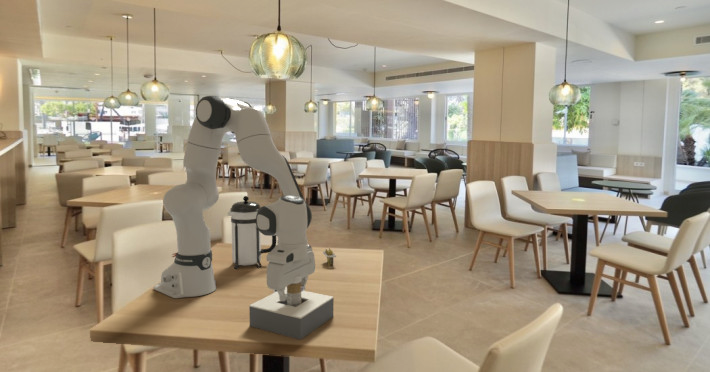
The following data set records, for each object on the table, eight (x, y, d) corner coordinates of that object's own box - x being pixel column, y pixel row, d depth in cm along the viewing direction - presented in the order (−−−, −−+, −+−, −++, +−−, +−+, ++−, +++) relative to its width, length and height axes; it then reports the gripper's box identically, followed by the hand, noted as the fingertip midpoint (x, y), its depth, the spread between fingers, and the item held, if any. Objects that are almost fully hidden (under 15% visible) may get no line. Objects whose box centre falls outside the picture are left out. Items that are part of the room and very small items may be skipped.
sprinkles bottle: (301, 314, 138) (301, 272, 136) (301, 321, 133) (301, 277, 132) (286, 315, 137) (286, 272, 136) (285, 321, 133) (285, 277, 131)
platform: (320, 271, 186) (320, 256, 185) (311, 259, 203) (311, 245, 202) (347, 269, 190) (348, 254, 189) (336, 257, 207) (336, 244, 206)
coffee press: (248, 273, 181) (247, 199, 178) (221, 266, 190) (219, 196, 186) (277, 262, 196) (276, 195, 192) (250, 257, 204) (249, 192, 201)
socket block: (249, 326, 132) (249, 305, 131) (286, 305, 148) (286, 287, 147) (300, 339, 123) (300, 317, 123) (333, 316, 139) (333, 296, 139)
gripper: (303, 241, 144) (303, 283, 145) (262, 257, 125) (262, 304, 127) (320, 244, 141) (319, 286, 142) (280, 260, 123) (281, 308, 124)
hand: (292, 295), depth 135 cm, fingers open, 8 cm apart
